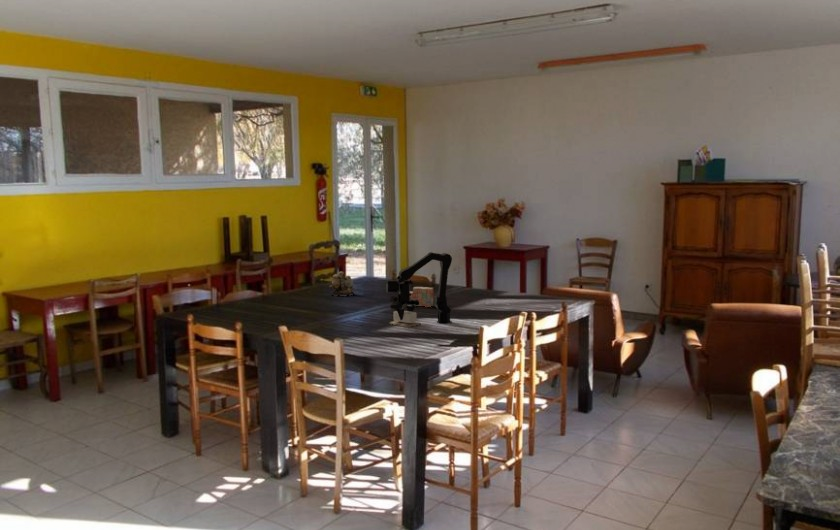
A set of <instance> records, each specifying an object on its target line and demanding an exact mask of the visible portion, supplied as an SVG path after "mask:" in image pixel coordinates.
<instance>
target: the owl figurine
mask: <svg viewBox="0 0 840 530" xmlns="http://www.w3.org/2000/svg"><path fill="white" fill-rule="evenodd" d="M345 275H346V274H345V272H344V271H338V273H335V274H333V275H332V281H331V285H329V288H330V289H331V290H333V292H331V293H330V295H331V294H332V295H339V296H340V295H350V294H354V293H355V292H354V290H355V289H356V288H355V287H354V279H352V277H351V275H346V276H345Z"/></svg>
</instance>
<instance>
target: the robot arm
mask: <svg viewBox="0 0 840 530" xmlns="http://www.w3.org/2000/svg"><path fill="white" fill-rule="evenodd" d="M432 261H438V262H439V266H440V271H439V272H440V273H439V282H438V291H437V295H433V304H434V307H435V308H437V321H436V323H438V322H439V324H444V323H446V324H449V322H450V323H452V320H451V311H452V310H451V308H450V306H448V301H447V295H446V294H447V286H448V285H447V283H448V275H449V270H450V267H451V264H452V261H453V257H452V255H450V254H449V253H447V252H443V253H438V252H437V253H436V252H432V251H430V252H428V253H427V254H425V255H423V257H421V258H420V259H419V260H417V261H416V262H414V263H413V264H412V265H409V266H407V267H404V268H402V269H401V270H399V272H398V276H397V277H396V279H395V280H389V279H387V280H386V285H385V289H386V293H387V294H388V293H397V296H395V295H391V296H390V298H389V301H390V302H391V303H390V306H389V307H390V309H392V310H395V311H397V312H398V314H399V317H400V320H402V319H403V315H404V311H405V309H406V311H409V312H414V310H415V309H416V308H417V307H416V306H414V304H415V305H419V301H418V300H415V299H410V296H411V293H410V291H411V285H413V284H414V282H413V281H412V279H411V278H412V277H413V276H414V274H415V273H416V272H417V271H419V270H421V268H423V267H425V266H426V265H427V264H428V263H430V262H432ZM398 292H400V293H398ZM404 307H405V308H404Z"/></svg>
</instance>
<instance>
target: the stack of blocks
mask: <svg viewBox="0 0 840 530" xmlns="http://www.w3.org/2000/svg"><path fill="white" fill-rule="evenodd" d="M398 292H399V293H400V291H398ZM399 293H398V294H399ZM410 293H411V296H410V299H415V300H418V301H419V305H415V304H414V306H425V307H424V308H427V307H431V306H433V307H434V287H428V286H426V287H425V286H414V287H413V288H412V291H411V290H410ZM431 308H432V307H431Z"/></svg>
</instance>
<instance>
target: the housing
mask: <svg viewBox="0 0 840 530" xmlns="http://www.w3.org/2000/svg"><path fill="white" fill-rule="evenodd" d="M392 313H393V321H400V322H406V323H412V322H417V312H416V311H415V312H414V311H413V312H409V311H407V310H404V315H403V319H402V320H400V317H399V314H398V312H397V311H396V310H395V311H393V312H392Z"/></svg>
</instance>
